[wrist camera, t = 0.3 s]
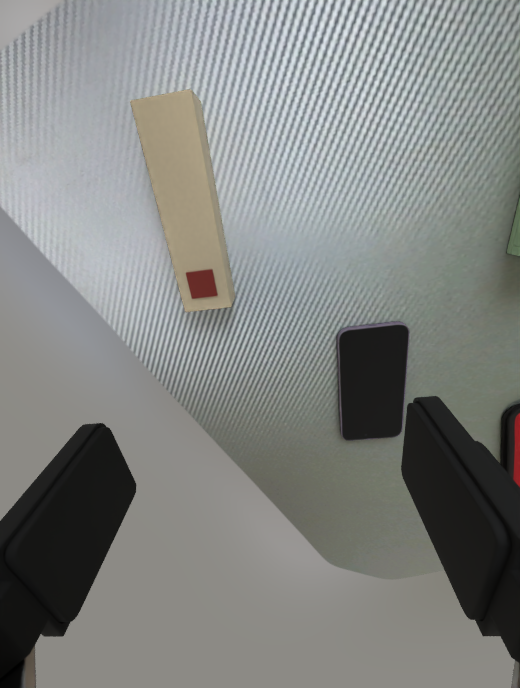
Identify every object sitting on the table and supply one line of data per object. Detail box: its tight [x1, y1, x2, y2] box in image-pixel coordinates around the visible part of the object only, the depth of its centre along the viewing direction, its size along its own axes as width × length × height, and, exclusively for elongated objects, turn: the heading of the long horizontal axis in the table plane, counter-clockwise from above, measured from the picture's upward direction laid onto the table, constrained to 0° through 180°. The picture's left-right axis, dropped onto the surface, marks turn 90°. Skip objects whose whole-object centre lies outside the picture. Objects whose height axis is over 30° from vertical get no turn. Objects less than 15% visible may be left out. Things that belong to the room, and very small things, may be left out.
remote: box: [130, 89, 235, 312], centre depth 25 cm, size 16×4×3 cm, turn 8°
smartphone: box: [337, 322, 409, 441], centre depth 34 cm, size 7×1×15 cm
